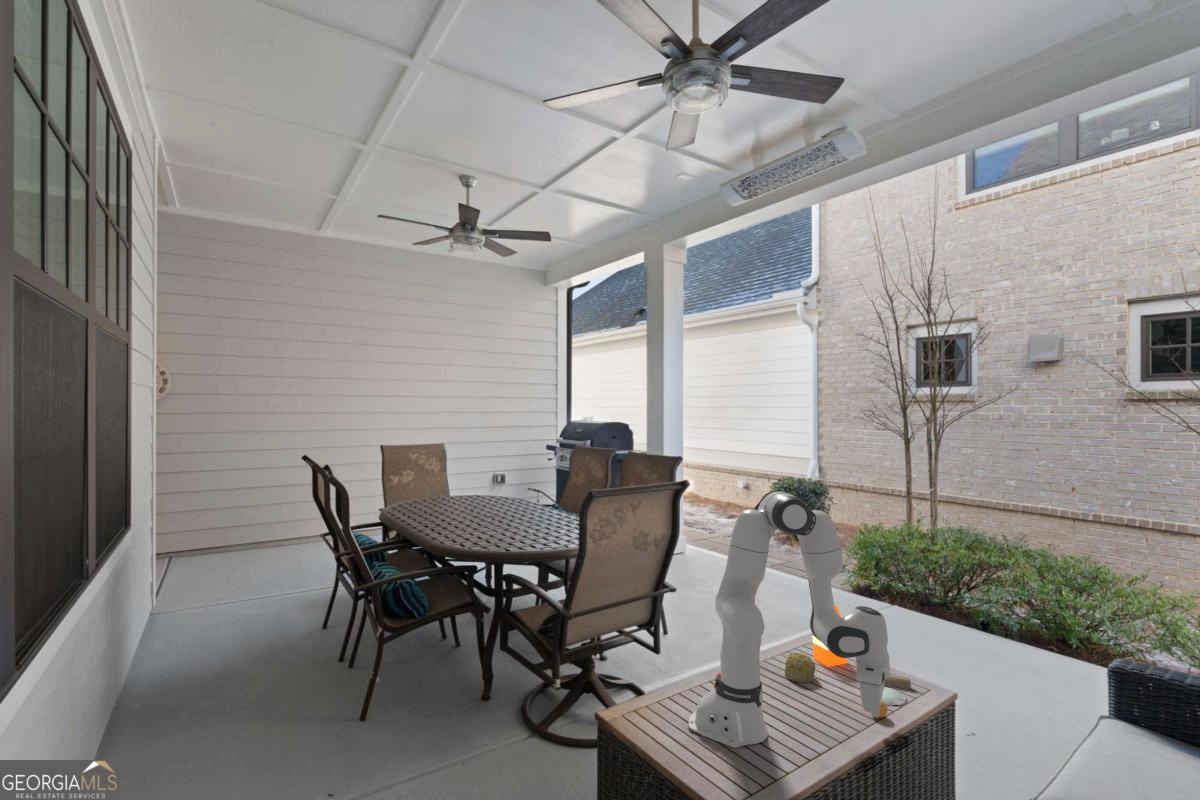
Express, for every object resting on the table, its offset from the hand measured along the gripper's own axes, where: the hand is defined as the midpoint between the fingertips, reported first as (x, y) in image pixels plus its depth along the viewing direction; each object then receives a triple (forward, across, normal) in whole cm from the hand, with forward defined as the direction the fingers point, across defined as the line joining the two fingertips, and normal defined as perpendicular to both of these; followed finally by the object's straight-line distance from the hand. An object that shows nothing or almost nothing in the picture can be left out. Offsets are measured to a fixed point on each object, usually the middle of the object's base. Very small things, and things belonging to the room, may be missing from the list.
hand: (876, 714), depth 154 cm
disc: (+5, -24, -1) cm, 25 cm away
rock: (+5, -24, -27) cm, 36 cm away
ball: (+2, -9, -1) cm, 10 cm away
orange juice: (+5, -44, -20) cm, 48 cm away
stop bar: (+5, -34, -1) cm, 34 cm away
